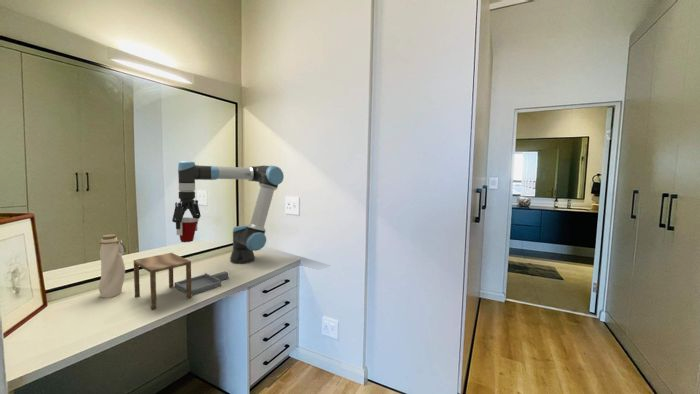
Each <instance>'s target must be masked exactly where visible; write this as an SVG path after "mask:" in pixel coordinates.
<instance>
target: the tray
mask: <svg viewBox="0 0 700 394" xmlns="http://www.w3.org/2000/svg"><path fill="white" fill-rule="evenodd" d="M228 279H229V272H228V271H222V272H218V273H215V274H209V273H207V272H205V273H204V274H201V275H198V276H193V277H191V296H193V295H196V294H198V293H202V292H206V291H208V290H212V289H215V288H219V287H221V286H222V282H221V281H223V280H228ZM174 288H175V289H178V290H179V291H181V292H183V293H184V294H186V295H187V292H186V279H182V280H179V281H175V282H174Z"/></svg>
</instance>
